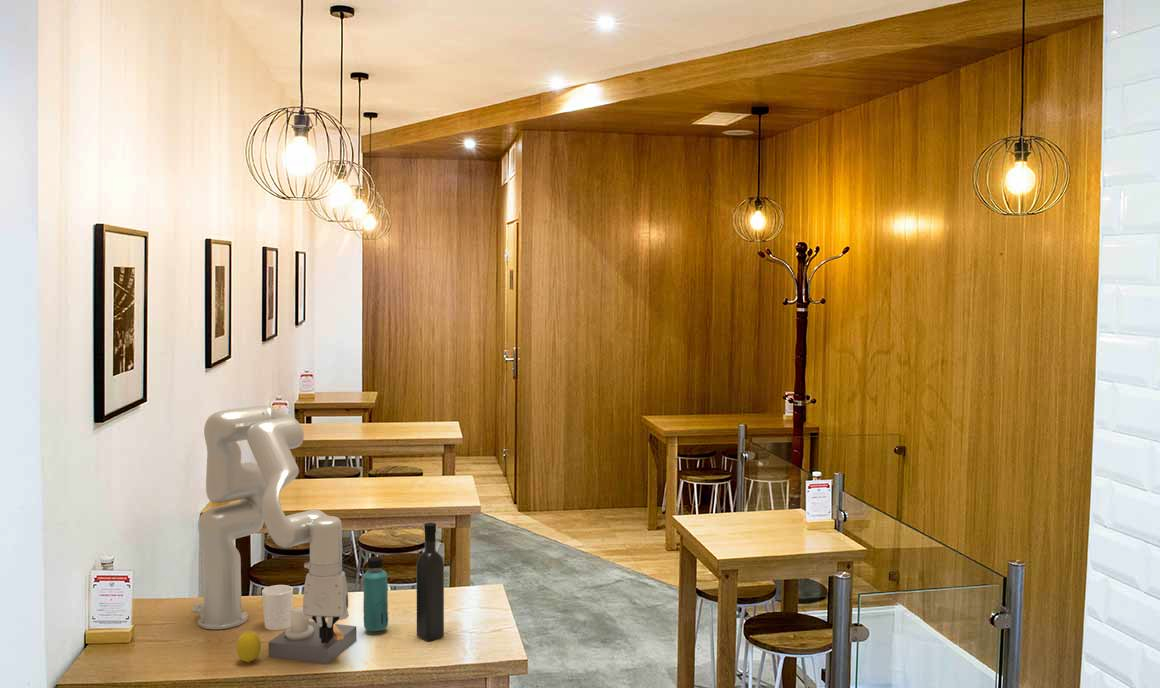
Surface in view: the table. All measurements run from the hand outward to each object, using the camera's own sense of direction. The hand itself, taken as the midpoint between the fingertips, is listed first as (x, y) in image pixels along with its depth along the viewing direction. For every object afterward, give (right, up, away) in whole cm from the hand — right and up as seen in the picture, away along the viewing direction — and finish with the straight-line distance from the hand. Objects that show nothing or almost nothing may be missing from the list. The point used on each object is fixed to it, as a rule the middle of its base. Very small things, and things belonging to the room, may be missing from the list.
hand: (326, 641), depth 230 cm
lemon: (-18, -5, -1) cm, 19 cm away
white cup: (-19, -3, +22) cm, 29 cm away
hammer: (0, 0, +6) cm, 6 cm away
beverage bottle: (+8, -4, +19) cm, 21 cm away
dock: (-5, -4, +7) cm, 10 cm away
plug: (-8, -4, +6) cm, 11 cm away
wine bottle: (+23, -4, +16) cm, 28 cm away
